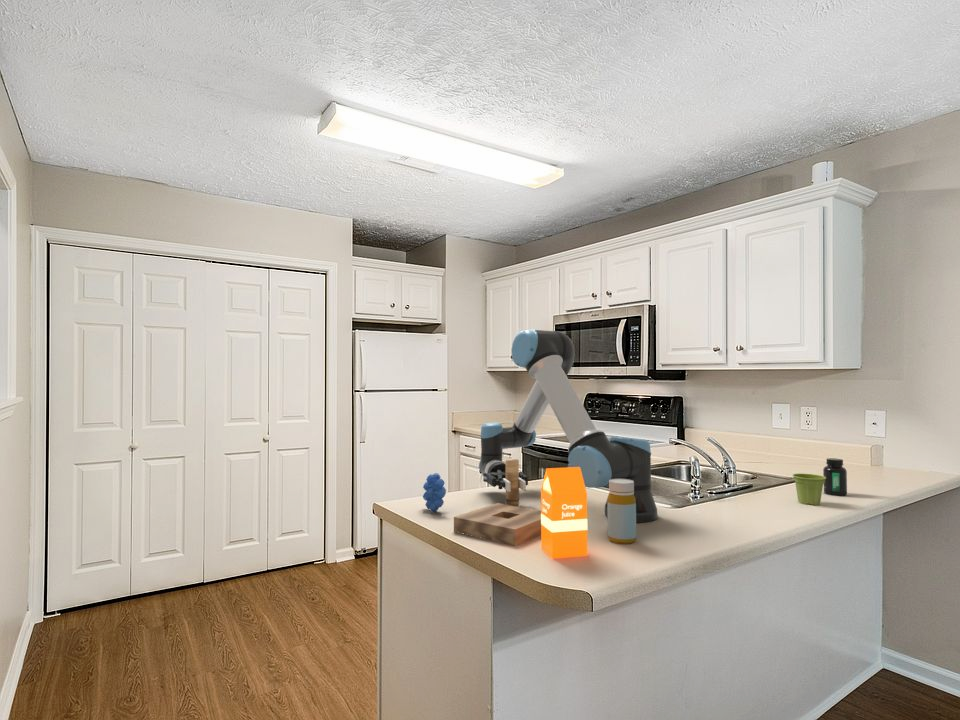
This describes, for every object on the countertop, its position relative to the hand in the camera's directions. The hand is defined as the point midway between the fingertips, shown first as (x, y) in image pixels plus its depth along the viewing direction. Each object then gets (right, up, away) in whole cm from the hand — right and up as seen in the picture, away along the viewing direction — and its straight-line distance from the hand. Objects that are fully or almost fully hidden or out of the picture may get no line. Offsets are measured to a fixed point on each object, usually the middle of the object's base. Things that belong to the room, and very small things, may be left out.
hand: (516, 486), depth 167 cm
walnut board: (-4, -9, -13) cm, 16 cm away
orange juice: (+9, -9, -32) cm, 34 cm away
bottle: (+25, -9, -23) cm, 35 cm away
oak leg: (-1, -9, +5) cm, 10 cm away
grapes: (-24, -10, +8) cm, 27 cm away
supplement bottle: (+112, -9, +28) cm, 115 cm away
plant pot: (+95, -9, +16) cm, 97 cm away
